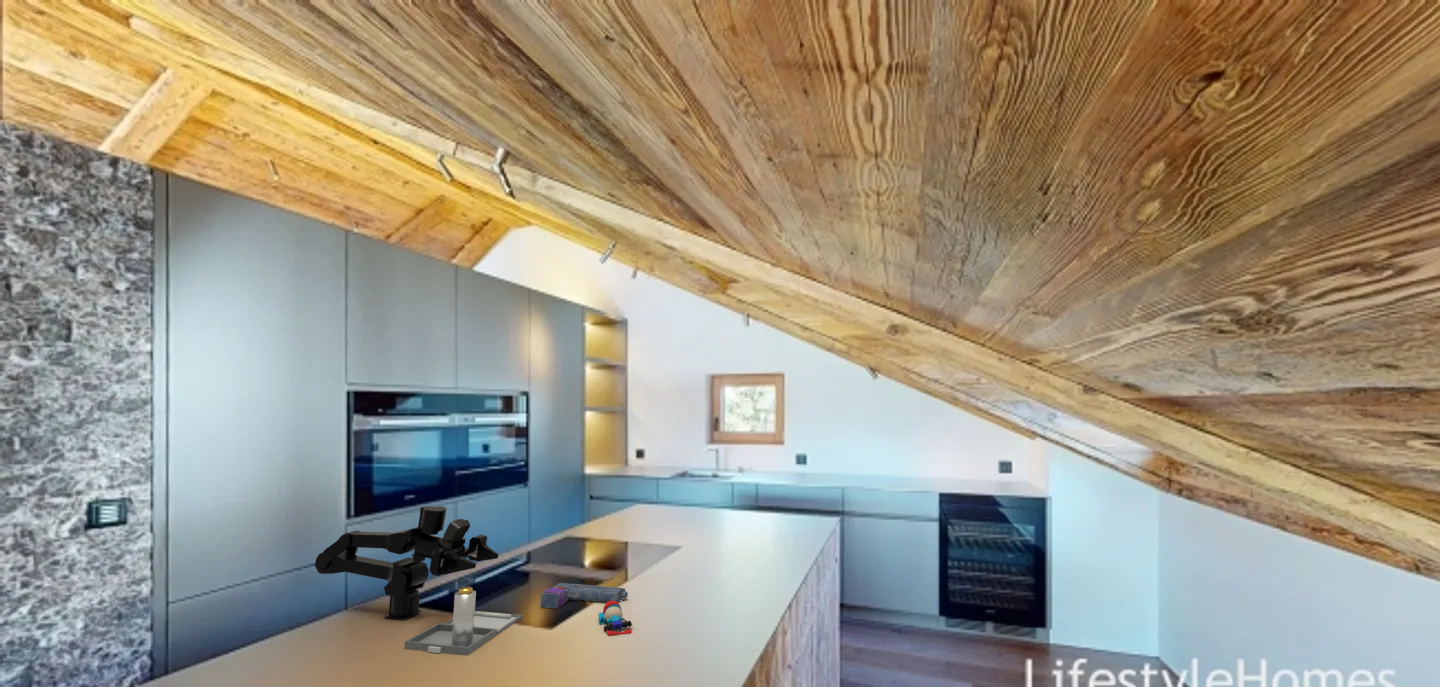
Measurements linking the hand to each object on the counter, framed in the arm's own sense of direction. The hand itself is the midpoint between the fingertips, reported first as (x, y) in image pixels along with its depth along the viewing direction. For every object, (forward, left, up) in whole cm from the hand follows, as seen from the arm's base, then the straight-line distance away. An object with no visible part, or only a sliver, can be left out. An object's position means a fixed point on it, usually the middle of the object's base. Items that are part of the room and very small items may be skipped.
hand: (487, 561), depth 155 cm
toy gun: (+17, +24, -17) cm, 34 cm away
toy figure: (+32, +9, -17) cm, 37 cm away
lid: (0, -1, -16) cm, 16 cm away
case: (0, -13, -16) cm, 21 cm away
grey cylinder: (+4, -15, -15) cm, 22 cm away
